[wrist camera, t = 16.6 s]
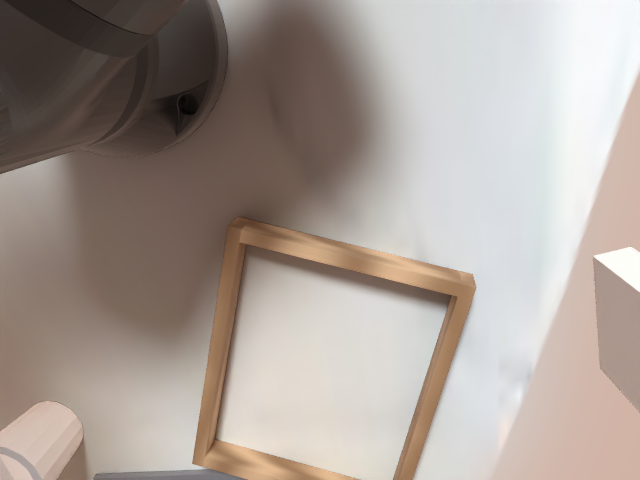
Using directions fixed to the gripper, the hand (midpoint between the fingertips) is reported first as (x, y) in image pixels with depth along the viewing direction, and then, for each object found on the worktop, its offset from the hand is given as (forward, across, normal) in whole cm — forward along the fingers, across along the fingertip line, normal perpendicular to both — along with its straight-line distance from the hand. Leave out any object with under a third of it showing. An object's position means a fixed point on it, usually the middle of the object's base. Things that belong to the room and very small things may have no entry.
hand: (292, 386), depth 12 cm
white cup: (+34, -28, -22) cm, 49 cm away
